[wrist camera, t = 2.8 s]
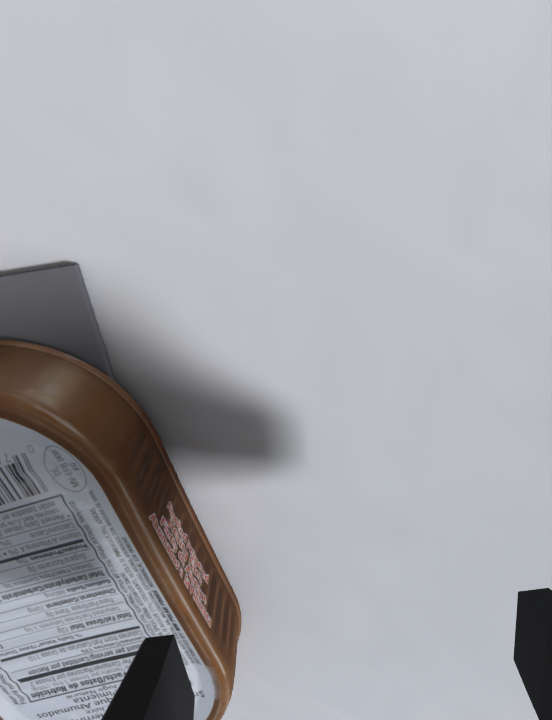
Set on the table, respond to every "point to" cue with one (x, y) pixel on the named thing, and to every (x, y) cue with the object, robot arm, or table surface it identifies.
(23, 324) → the mat
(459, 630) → the table surface
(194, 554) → the tin
